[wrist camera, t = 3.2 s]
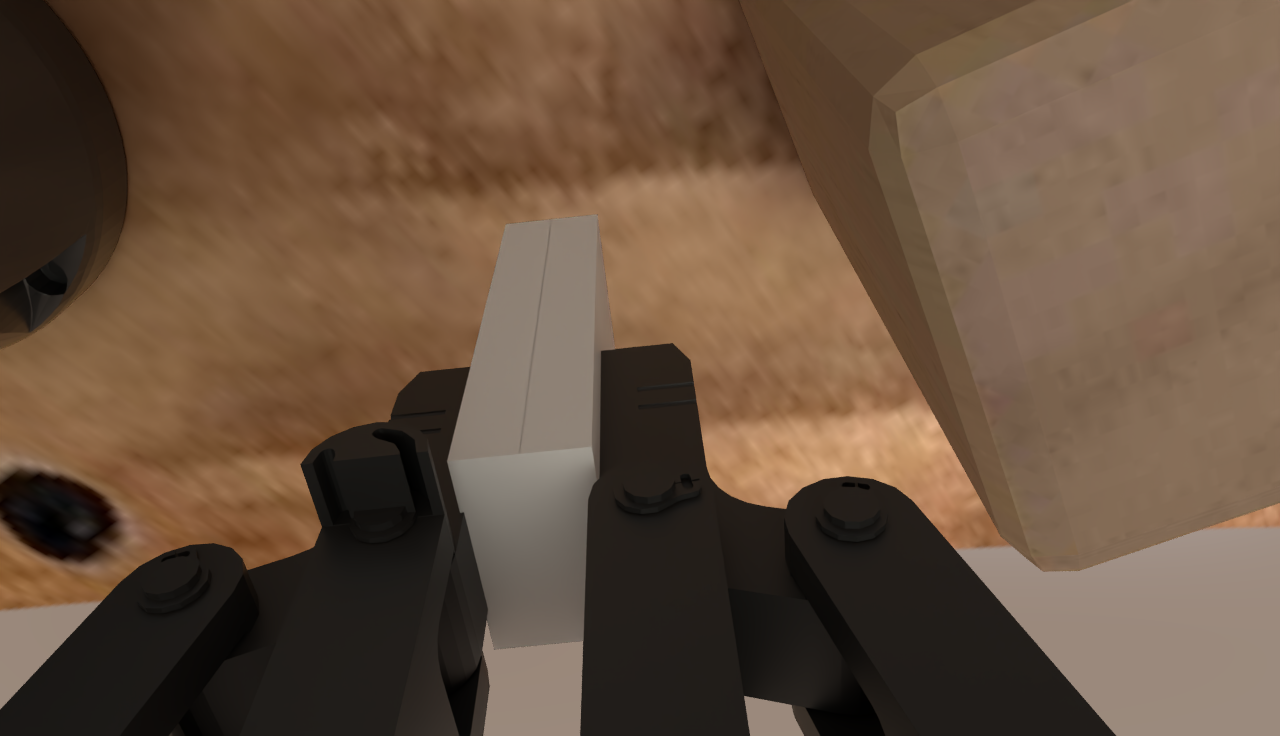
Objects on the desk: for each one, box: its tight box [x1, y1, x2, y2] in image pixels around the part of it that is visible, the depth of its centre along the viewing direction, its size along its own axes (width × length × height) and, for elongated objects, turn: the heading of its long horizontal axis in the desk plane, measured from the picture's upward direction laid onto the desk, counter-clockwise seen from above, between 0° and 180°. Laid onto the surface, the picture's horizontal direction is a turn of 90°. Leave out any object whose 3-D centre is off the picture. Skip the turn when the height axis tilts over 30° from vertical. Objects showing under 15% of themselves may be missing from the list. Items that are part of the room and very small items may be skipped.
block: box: [739, 0, 1280, 572], centre depth 22 cm, size 10×10×20 cm
